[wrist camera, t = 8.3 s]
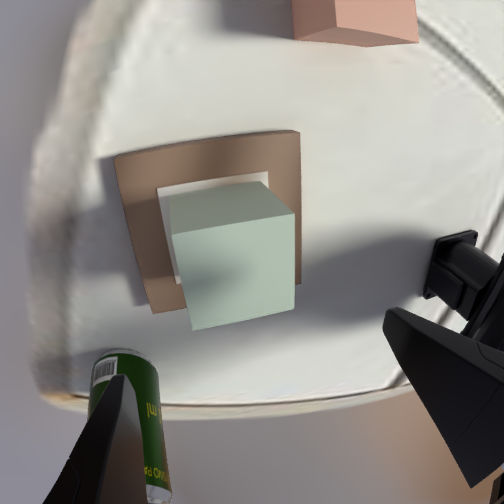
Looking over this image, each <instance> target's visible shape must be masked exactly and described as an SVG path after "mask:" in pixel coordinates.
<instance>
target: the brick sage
mask: <svg viewBox="0 0 504 504" xmlns="http://www.w3.org/2000/svg"><path fill="white" fill-rule="evenodd" d="M169 208H170V224H171V236H172V241H173V246H174V251H175V256H176V261H177V265H178V270H179V275H180V279H181V284H182V288H183V292H184V297H185V301H186V305H187V310H188V314H189V318H190V322H191V326H192V330H193V331H196V330H201V329H206V328H211V327H216V326H221V325H226V324H230V323H235V322H240V321H244V320H249V319H253V318H258V317H262V316H267V315H271V314H275V313H279V312H284V311H288V310H292V309H294V297H295V213H294V212H292V211H291V210H290V209H289V208H288V207H287V206H286V205H285V204H284V203H283V202H282V201H281V200H280V199H279V198H278V197H277V196H276V195H275V194H274V193H273V192H272V191H271V190H270V189H268V188H267V187H266V186H265V185H264V184H263V183H262V182H261V181H256V182H249V183H242V184H235V185H228V186H222V187H215V188H209V189H203V190H197V191H191V192H185V193H179V194H174V195H169Z"/></svg>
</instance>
